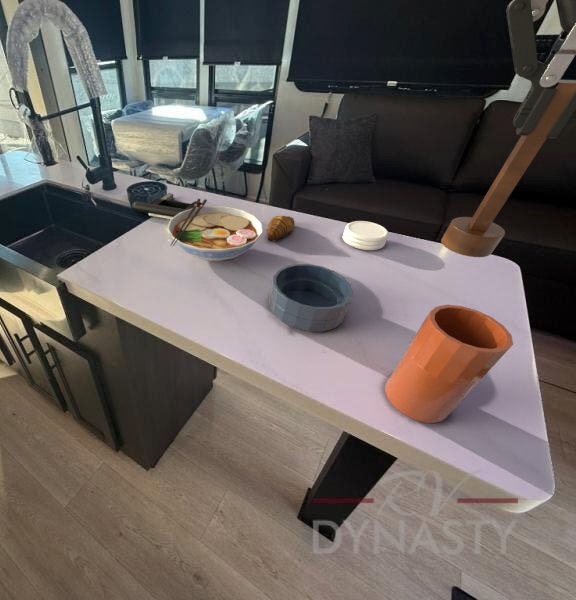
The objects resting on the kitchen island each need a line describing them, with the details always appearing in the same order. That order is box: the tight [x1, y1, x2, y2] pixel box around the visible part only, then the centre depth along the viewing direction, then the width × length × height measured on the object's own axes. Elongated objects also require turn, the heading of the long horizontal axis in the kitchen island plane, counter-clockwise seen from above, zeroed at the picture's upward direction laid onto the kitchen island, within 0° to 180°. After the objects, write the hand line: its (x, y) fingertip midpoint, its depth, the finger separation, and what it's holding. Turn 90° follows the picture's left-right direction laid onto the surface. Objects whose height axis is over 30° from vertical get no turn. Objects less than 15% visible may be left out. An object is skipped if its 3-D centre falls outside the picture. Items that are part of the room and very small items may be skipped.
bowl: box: [268, 263, 354, 332], centre depth 64 cm, size 14×14×6 cm
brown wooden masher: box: [440, 79, 576, 258], centre depth 33 cm, size 5×5×16 cm
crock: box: [384, 304, 514, 424], centre depth 45 cm, size 8×8×15 cm
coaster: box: [342, 220, 390, 251], centre depth 84 cm, size 10×10×4 cm
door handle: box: [131, 192, 202, 220], centre depth 103 cm, size 3×20×16 cm
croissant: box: [266, 215, 296, 242], centre depth 88 cm, size 14×7×5 cm, turn 142°
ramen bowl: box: [167, 198, 264, 262], centre depth 81 cm, size 25×23×8 cm
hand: (535, 134), depth 30 cm, fingers closed on brown wooden masher, 1 cm apart
